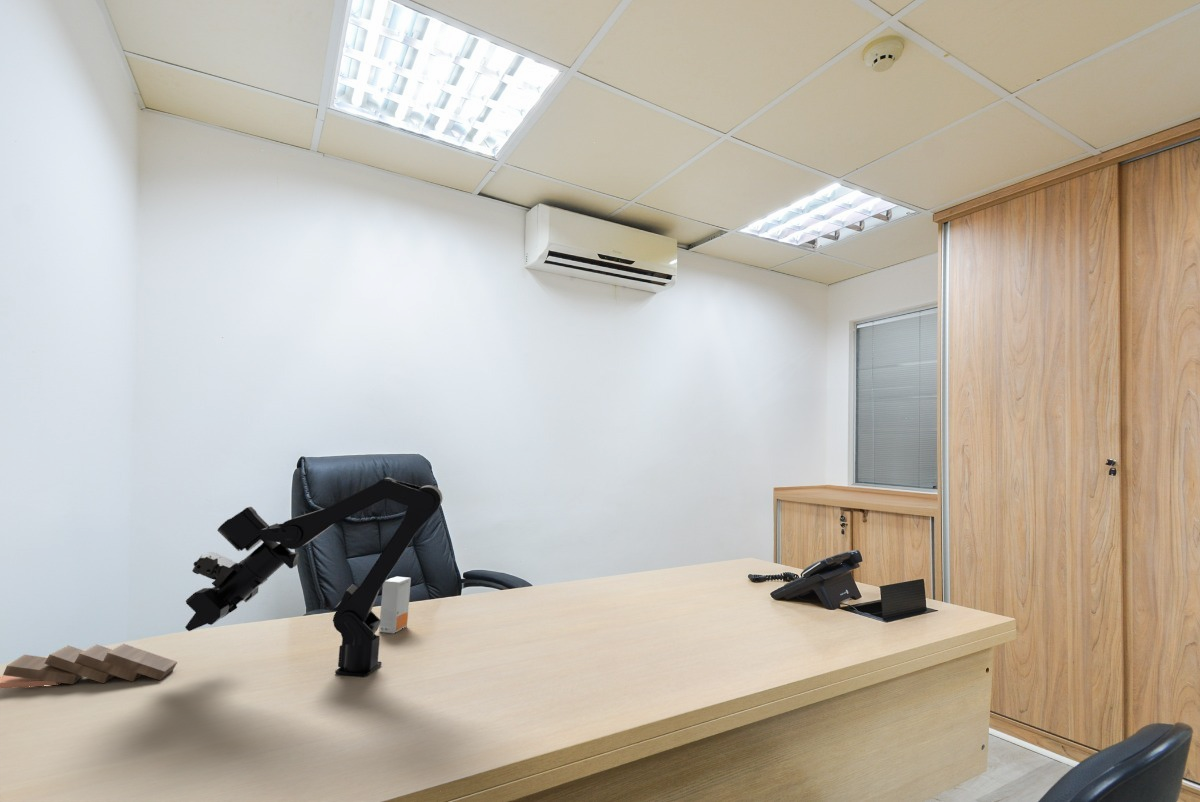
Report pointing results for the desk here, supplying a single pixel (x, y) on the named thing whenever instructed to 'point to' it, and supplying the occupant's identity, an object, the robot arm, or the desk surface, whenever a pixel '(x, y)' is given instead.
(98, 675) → the domino
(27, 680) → the domino
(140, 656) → the domino
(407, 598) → the skincare box
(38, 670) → the domino
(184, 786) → the desk surface
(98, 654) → the domino
